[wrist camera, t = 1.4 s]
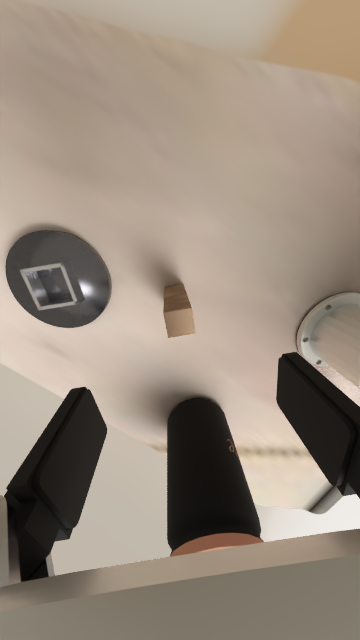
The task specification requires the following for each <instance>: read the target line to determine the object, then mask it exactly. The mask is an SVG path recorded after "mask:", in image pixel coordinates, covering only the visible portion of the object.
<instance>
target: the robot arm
mask: <svg viewBox="0 0 360 640" xmlns="http://www.w3.org/2000/svg"><path fill="white" fill-rule="evenodd" d="M297 348H298V351H299V353H300V354H301V356H302V357H301V356H300V355H299V354H298V353H296V352H292V353H286V354H283V355H282V357H281V358H279V362H278V380H277V397H276V400H277V404H278V406H279V407H280V409H281V410H282V412H283V413H284V415H285V416H286V418H287V419H288V421H289V422H290V424H291V425H292V427H293V428H294V430H295V431H296V433H297V434H298V436H299V437H300V439H301V440H302V442H303V443H304V445H305V446H306V448H307V449H308V451H309V452H310V454H311V455H312V457H313V458H314V460H315V461H316V463H317V464H318V466H319V467H320V469H321V470H322V472H323V473H324V475H325V476H326V478H327V479H328V481H329V482H330V483H331V484H332V485H333V486H337V488H338V489H339V491H340V492H341V494H342V495H343V496H346V495H352V494H357V495H358V497H359V498H360V407H359V406H358V405H357V404H356V403H354V402H353V401H352V400H351V399H350V398H349V397H348V396H346V395H345V394H344V393H343V392H342V391H341V390H339V389H338V388H337V387H336V386H335V385H334V384H333V383H331V382H330V381H329V380H328V379H327V378H326V377H325V376H323V375H322V374H321V373H320V372H319V371H318V370H316V369H315V368H314V367H313V366H312V365H315V366H318V367H332V368H333V369H335V370H336V371H337V372H338V373H340V374H341V375H342V376H344V377H345V378H346V379H348V380H349V381H350V382H351V383H353V384H354V385H355V386H357V387H358V388H359V389H360V293H356V292H346V293H340V294H337V295H334V296H331V297H329V298H327V299H325V300H323V301H322V302H321V303H319V304H318V305H316V306H315V307H314V308H313V309H312V310H311V311H310V312H309V313H308V314H307V316H306V317H305V318H304V320H303V322H302V323H301V325H300V328H299V330H298V333H297ZM306 360H307V361H308V362H309V363H308V362H307V361H306ZM310 363H311V364H312V365H311V364H310ZM106 434H107V427H106V424H105V422H104V420H103V418H102V415H101V413H100V411H99V409H98V406H97V404H96V402H95V400H94V397H93V395H92V393H91V391H90V390H89V389H87V388H86V387H80V388H74V389H71V391H70V392H69V393H68V395H67V396H66V398H65V399H64V401H63V402H62V404H61V406H60V407H59V409H58V410H57V412H56V413H55V415H54V416H53V418H52V419H51V421H50V422H49V424H48V425H47V427H46V428H45V430H44V431H43V433H42V434H41V436H40V437H39V439H38V440H37V442H36V444H35V445H34V447H33V448H32V450H31V451H30V453H29V454H28V456H27V457H26V459H25V460H24V462H23V464H22V465H21V466H20V468H19V469H18V471H17V472H16V474H15V475H14V477H13V479H12V480H11V482H10V484H9V485H8V486H7V490H8V491H7V492H6V494H5V495H4V497H3V496H0V640H360V529H354V530H346V531H338V532H331V533H323V534H317V535H310V536H303V537H297V538H290V539H283V540H277V541H271V542H263V543H256V544H250V545H243V546H237V547H230V548H224V549H218V550H211V551H205V552H198V553H192V554H185V555H179V556H173V557H167V558H160V559H154V560H148V561H141V562H136V563H129V564H124V565H116V566H111V567H104V568H98V569H92V570H86V571H79V572H73V573H68V574H62V575H57V576H55V574H54V569H53V563H52V558H51V549H52V547H53V544H54V542H55V541H60V540H66V539H69V538H70V535H71V533H72V530H73V528H74V527H75V526H76V525H77V524H78V521H79V519H80V516H81V512H82V509H83V506H84V503H85V500H86V497H87V493H88V491H89V487H90V484H91V481H92V478H93V475H94V472H95V469H96V466H97V462H98V459H99V456H100V453H101V450H102V447H103V444H104V440H105V438H106Z"/></svg>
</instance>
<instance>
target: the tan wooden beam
mask: <svg viewBox="0 0 360 640" xmlns="http://www.w3.org/2000/svg"><path fill="white" fill-rule="evenodd" d="M163 313H164V318H165V323H166V328H167V333H168V338H170V337H176V336H182V335H189V334H195V328H194V321H193V313H192V307H191V304H190V302H189V299H188V296H187V293H186V291H185V288H184V285H183V284H179V285H173V286H167V287H165V293H164V311H163Z"/></svg>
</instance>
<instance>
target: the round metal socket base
mask: <svg viewBox="0 0 360 640" xmlns="http://www.w3.org/2000/svg"><path fill="white" fill-rule="evenodd" d="M6 277H7V281H8V284H9V287H10V289H11V292H12V293H13V295H14V297H15V298H16V300H17V301H18V302H19V304H20V305H21V306H22V307H23V308H24V309H25V310H26V311H27V312H29V313H30V314H31V315H33V316H34V317H35V318H37V319H39V320H41V321H43V322H45V323H47V324H50V325H53V326H57V327H64V328H74V327H80V326H83V325H86V324H88V323H90V322H92V321H94V320H95V319H96V318H97V317H98V316H99V315H100V314H101V313H102V312H103V311H104V310H105V308H106V307H107V305H108V303H109V300H110V297H111V290H112V285H111V278H110V274H109V271H108V268H107V266H106V265H105V263H104V261H103V259H102V258H101V257H100V255H99V254H98V253H97V252H96V251H95V250H94V249H93V248H92V247H91V246H90V245H89V244H87V243H86V242H85V241H83V240H81V239H80V238H78V237H76V236H73V235H71V234H68V233H64V232H59V231H36V232H32V233H29V234H27V235H25V236H23V237H22V238H20V239H19V240H18V241H17V242H16V243H15V244H14V245H13V246H12V248H11V249H10V251H9V253H8V256H7V260H6Z"/></svg>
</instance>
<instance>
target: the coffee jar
mask: <svg viewBox="0 0 360 640" xmlns="http://www.w3.org/2000/svg"><path fill="white" fill-rule="evenodd" d="M167 460H168V461H167V471H168V472H167V491H168V492H167V539H168V544H169V546H170V548H171V549H172V552H171V554H170V557H173V556H179V555H185V554H192V553H198V552H205V551H211V550H218V549H224V548H230V547H237V546H243V545H250V544H256V543H263V542H264V541H263V540H262V539H261V538H260V533H261V527H260V522H259V517H258V515H257V512H256V508H255V505H254V502H253V499H252V496H251V493H250V490H249V487H248V484H247V481H246V478H245V475H244V472H243V469H242V466H241V463H240V460H239V457H238V454H237V451H236V448H235V445H234V441H233V438H232V435H231V432H230V429H229V426H228V423H227V420H226V417H225V414H224V412H223V411H222V410H221V408H220V407H219V406H218V405H216V404H215V403H213V402H211V401H210V400H206V399H202V398H193V399H189V400H186V401H184V402H182V403H180V404H179V405H178V406H177V407H176V408H175V409H174V410H173V411H172V412H171V414H170V416H169V418H168V424H167Z"/></svg>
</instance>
